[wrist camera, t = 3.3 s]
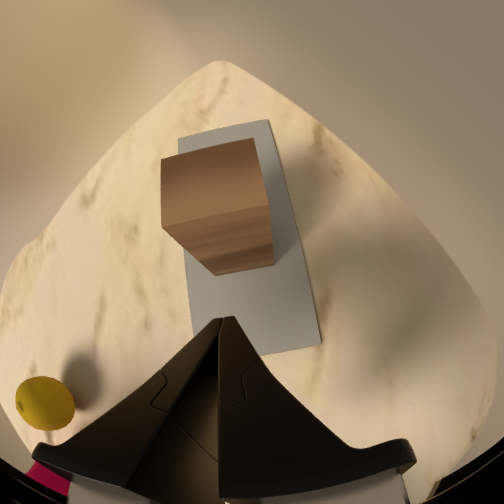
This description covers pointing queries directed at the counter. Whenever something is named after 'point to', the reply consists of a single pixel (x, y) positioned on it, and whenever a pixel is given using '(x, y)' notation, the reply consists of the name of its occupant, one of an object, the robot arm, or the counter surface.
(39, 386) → the lemon
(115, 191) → the counter surface
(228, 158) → the walnut block
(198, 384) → the robot arm
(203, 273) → the strip
